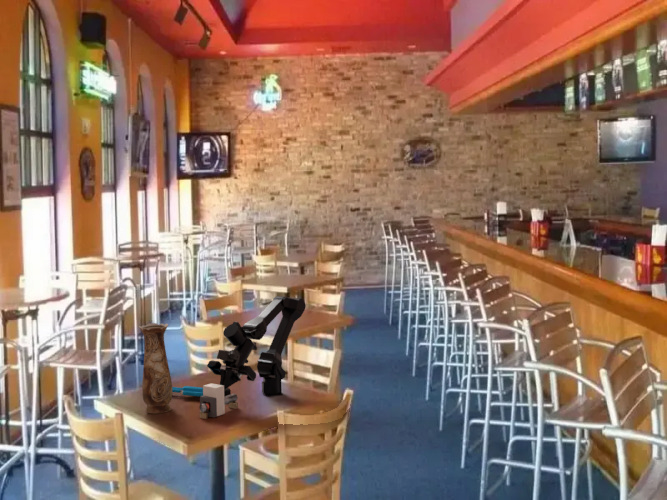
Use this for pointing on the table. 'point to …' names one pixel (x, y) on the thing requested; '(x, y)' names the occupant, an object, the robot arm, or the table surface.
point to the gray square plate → (212, 405)
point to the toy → (195, 391)
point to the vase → (156, 370)
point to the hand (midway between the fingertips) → (220, 391)
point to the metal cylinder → (227, 400)
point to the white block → (215, 396)
